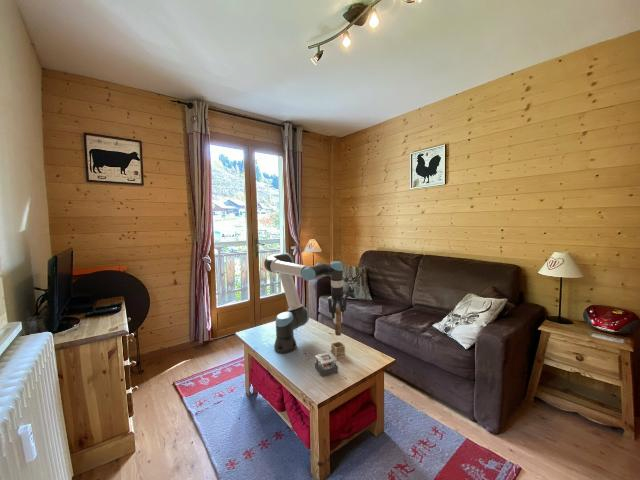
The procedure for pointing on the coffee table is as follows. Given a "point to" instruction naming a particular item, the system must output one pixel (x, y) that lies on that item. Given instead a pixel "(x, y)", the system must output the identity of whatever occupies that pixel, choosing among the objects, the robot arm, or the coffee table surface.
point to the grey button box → (331, 360)
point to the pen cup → (338, 349)
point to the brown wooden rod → (338, 321)
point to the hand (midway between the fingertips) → (337, 322)
